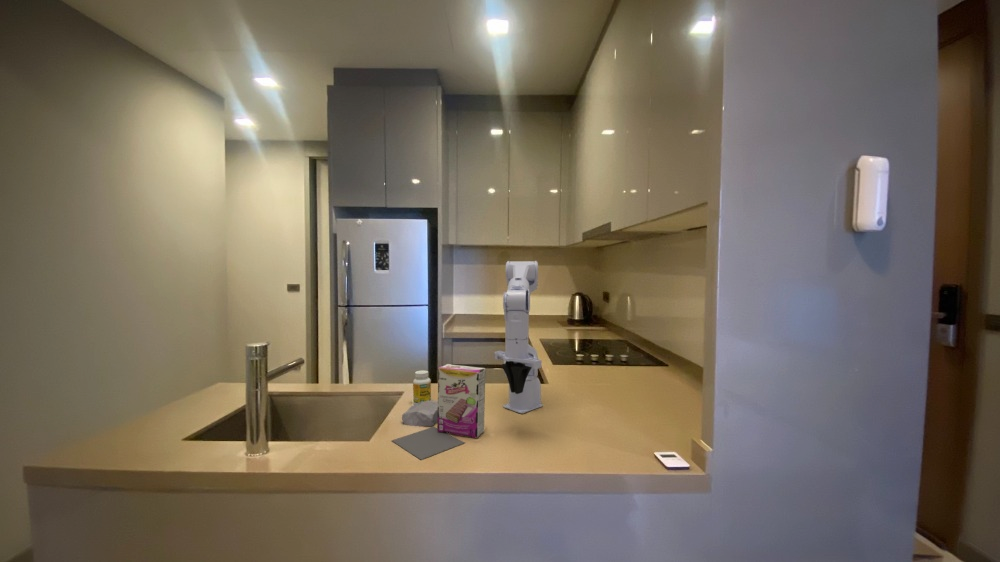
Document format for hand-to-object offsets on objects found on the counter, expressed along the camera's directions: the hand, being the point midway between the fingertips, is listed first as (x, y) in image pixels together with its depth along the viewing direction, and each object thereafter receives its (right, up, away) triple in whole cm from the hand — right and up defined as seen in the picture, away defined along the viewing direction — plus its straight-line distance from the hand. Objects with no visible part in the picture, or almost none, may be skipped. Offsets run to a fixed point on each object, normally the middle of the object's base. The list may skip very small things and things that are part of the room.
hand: (516, 392), depth 99 cm
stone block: (-25, -11, +11) cm, 30 cm away
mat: (-21, -11, -5) cm, 24 cm away
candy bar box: (-14, -11, +1) cm, 18 cm away
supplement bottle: (-28, -10, +23) cm, 38 cm away
